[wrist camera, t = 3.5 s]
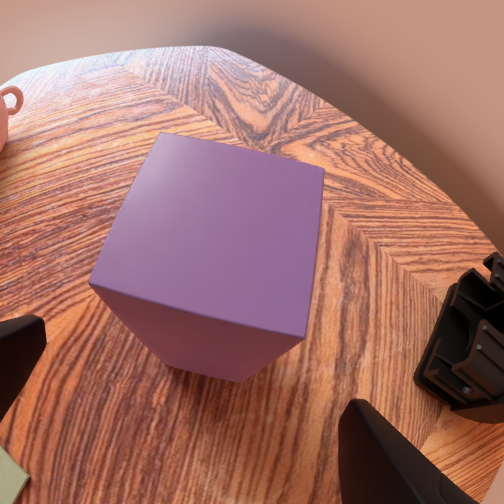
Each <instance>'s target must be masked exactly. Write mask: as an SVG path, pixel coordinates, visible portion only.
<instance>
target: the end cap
mask: <svg viewBox="0 0 504 504" xmlns="http://www.w3.org/2000/svg"><path fill="white" fill-rule="evenodd" d="M483 264H484V265H485V266H486V267H487V268H488V269H489V270H490V271H491V277H490V281H489V282H488V281H487V280H486V279H485V278H484V277H483V276H482V275H481V274H480V273H479V272H477V271H476V270H475V269H474V268H471V269H470V270H469V271H467V272H466V273H464V274H463V275H462V276H461V277H460V279H459V280H458V283H454V284H452V285H451V286H450V287H449V289H448V292H447V295H446V298H445V301H444V303H443V306H442V309H441V312H440V314H439V317H438V320H437V322H436V325H435V327H434V330H433V332H432V335H431V337H430V340H429V342H428V344H427V347H426V349H425V351H424V354H423V356H422V358H421V360H420V363H419V365H418V367H417V369H416V371H415V373H414V382H415V383H416V384H417V385H418V386H420V387H421V388H423V389H424V390H425V391H427V392H428V393H430V394H431V395H432V396H434V397H435V398H437V399H438V400H439V401H441V402H442V403H444V404H445V405H447V406H449V407H450V410H451V411H452V412H454V413H455V414H457V415H459V416H461V417H464V418H466V419H469V420H472V421H476V422H481V423H489V424H497V423H504V258H503V257H502V256H501V255H500V254H499V253H498V252H494V253H492V254H491V255H490V256H488V257H487V258H486V259H484V260H483Z"/></svg>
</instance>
